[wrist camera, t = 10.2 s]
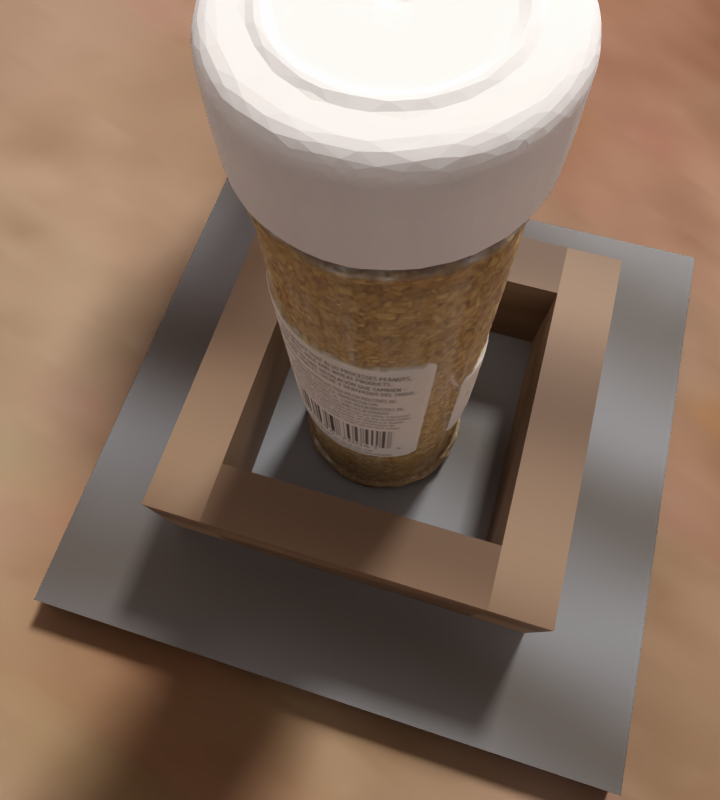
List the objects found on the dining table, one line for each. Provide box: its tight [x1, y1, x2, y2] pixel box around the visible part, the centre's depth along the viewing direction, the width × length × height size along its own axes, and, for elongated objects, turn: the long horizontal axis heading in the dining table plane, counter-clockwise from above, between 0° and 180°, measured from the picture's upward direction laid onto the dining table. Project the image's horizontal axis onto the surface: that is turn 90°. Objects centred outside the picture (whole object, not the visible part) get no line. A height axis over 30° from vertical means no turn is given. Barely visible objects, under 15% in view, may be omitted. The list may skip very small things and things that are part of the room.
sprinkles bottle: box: [191, 0, 601, 488], centre depth 13 cm, size 5×5×14 cm
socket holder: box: [34, 177, 695, 796], centre depth 18 cm, size 16×16×4 cm
